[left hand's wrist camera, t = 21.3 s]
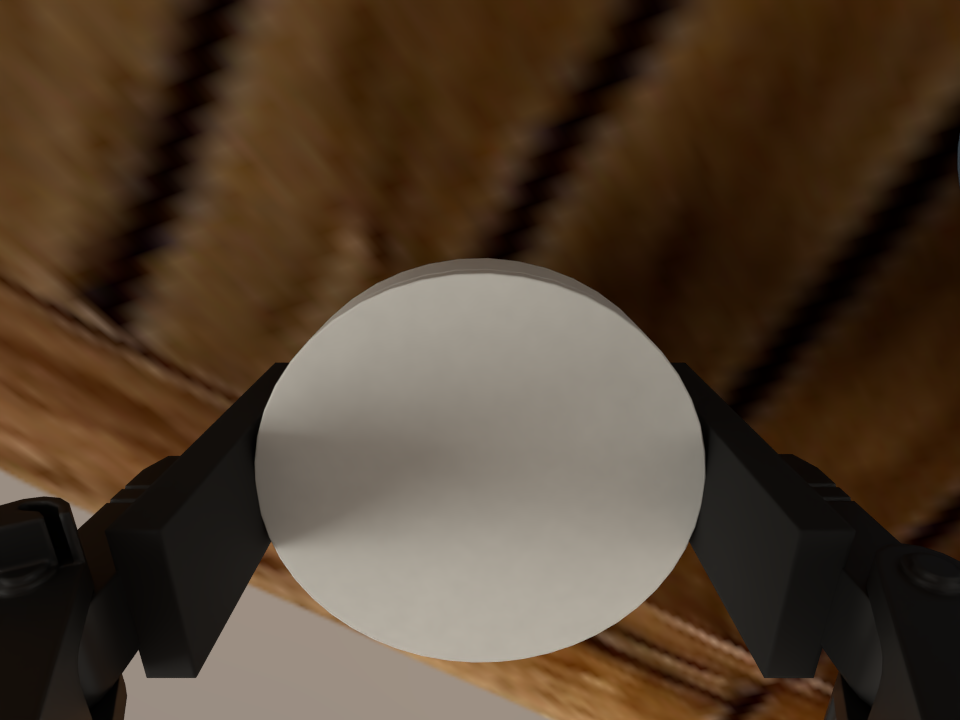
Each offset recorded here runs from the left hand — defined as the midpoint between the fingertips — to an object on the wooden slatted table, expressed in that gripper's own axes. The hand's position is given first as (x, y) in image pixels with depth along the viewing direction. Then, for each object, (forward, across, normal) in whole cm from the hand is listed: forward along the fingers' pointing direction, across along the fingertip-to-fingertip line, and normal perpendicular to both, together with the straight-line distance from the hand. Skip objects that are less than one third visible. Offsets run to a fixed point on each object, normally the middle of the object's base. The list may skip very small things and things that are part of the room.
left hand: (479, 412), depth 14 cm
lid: (-3, 0, 0) cm, 3 cm away
